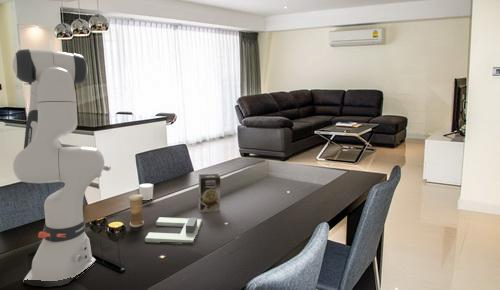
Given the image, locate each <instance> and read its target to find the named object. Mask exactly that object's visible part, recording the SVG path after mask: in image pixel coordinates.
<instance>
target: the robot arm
mask: <svg viewBox="0 0 500 290" xmlns="http://www.w3.org/2000/svg"><path fill="white" fill-rule="evenodd" d="M12 70H13V72H14V74H15V75H16V79H19V80H20V81H21V82H23V83H27V84H28V85H29V86H30V93H29V94H30V95H29V105H28V106H29V107H28V114H27V118H26V124H25V130H24V131H25V132H24V143H23V144H24V145H23V149H22V150H21V151H19V152H18V153H17V154H16V156H15V158H14V160H13V164H12V170H13V172H14V175H15V176H16V178H17V179H18V180H19V181H20V182H22V183H30V184H49V183H64V186H62V188H59V189H58V190H57V191H55V192H53V193H51V194H49V195H48V197H46V199H45V200H44V203H43V208H44V220H45V221H44V222H45V223H44V227H43V230H42V231H39V232H38V234H37V235H38V236H37V237H38V238H39V239H42V240H41V242H40V244H39V247H38V248H37V251H36V253H35V255H34V256H33V259H32V262H31V269H30V270H29V271H28V273H27V274H26V276H25V277H24V279H23V281H24V280H27V279H28V280H41V281H58V280H63V279H67V278H70V277H71V278H73V277H75V276H76V275H78V274H80V273H81V272H83V271H84V270H85V269H87V268H88V267H90V266H91V265H92V264H93V263H94V262H95V261H96V258H95V257H94V256H93V254H92V249H91V243H90V242H91V241H90V240H91V239H90V238H89V237H88V235H87V233H86V232H85V231H86V222H85V218H84V213H83V212H84V211H83V210H84V208H83V206H84V196H85V193H86V190H87V189H88V187H89V186H90V185H91V183H92V182H93V181H94V180H96V179H97V178H101V177H102V173H103V171H106V172H108V171H110V170H111V166H110V165H106V164H105V159H104V156H103V154H102V152H101V151H100V149H99V148H96V147H91V146H82V145H79V146H78V145H76V146H62V143H61V142H60V141H59V140H60V139H62V138H64V137H66V136H67V135H70V134H71V133H73V132H74V131H76V129H77V127H78V106H77V96H76V95H77V93H76V89H75V85H80V84H83V83H84V82H85V81H86V79H87V76H88V73H89V68H88V63H87V60H86V58H85V57H84V56H83V55H82V54H79V53H75V52H72V53H70V52H64V51H56V50H52V49H29V48H27V49H19V50H17V51H16V52H15V55H14V57H13V60H12ZM96 262H97V261H96ZM93 265H94V264H93ZM93 265H92V266H93ZM92 266H91V267H92ZM91 267H90V268H91ZM88 269H89V268H88ZM88 269H87V270H88ZM83 273H84V272H83Z"/></svg>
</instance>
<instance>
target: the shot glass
mask: <svg viewBox="0 0 500 290" xmlns="http://www.w3.org/2000/svg"><path fill="white" fill-rule="evenodd" d="M138 191H139V195H142V196H143V199H142V200H150V199H152V200H153V195H154V184H153V183H150V182H149V183H141V184H139V185H138ZM150 201H151V200H150Z"/></svg>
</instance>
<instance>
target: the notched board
mask: <svg viewBox="0 0 500 290" xmlns="http://www.w3.org/2000/svg"><path fill="white" fill-rule="evenodd" d="M202 222H203V219H202V218H198V217H188V218H185V217H158V219H156V222H155V225H156V226H163V227H180V228H181V227H182V229H181V231H180V233H172V232H169V233H168V232H148V233H147V235H146V236H145V238H144V240H145V242H146V243H160V242H193V241H194V239H195V240H196V238H197V236H196V235H198V233H199V231H198V230H200V228H201V226H202ZM195 237H196V238H195ZM194 242H195V241H194Z"/></svg>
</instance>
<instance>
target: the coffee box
mask: <svg viewBox="0 0 500 290" xmlns="http://www.w3.org/2000/svg"><path fill="white" fill-rule="evenodd" d="M197 202H198V205H197V206H198V211H199V213H212V212H220V211H221V209H220V208H221V206H220V205H221V176H220V174H219V173H209V174H208V173H207V174H206V173H205V174H204V173H203V174H198V201H197Z"/></svg>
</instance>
